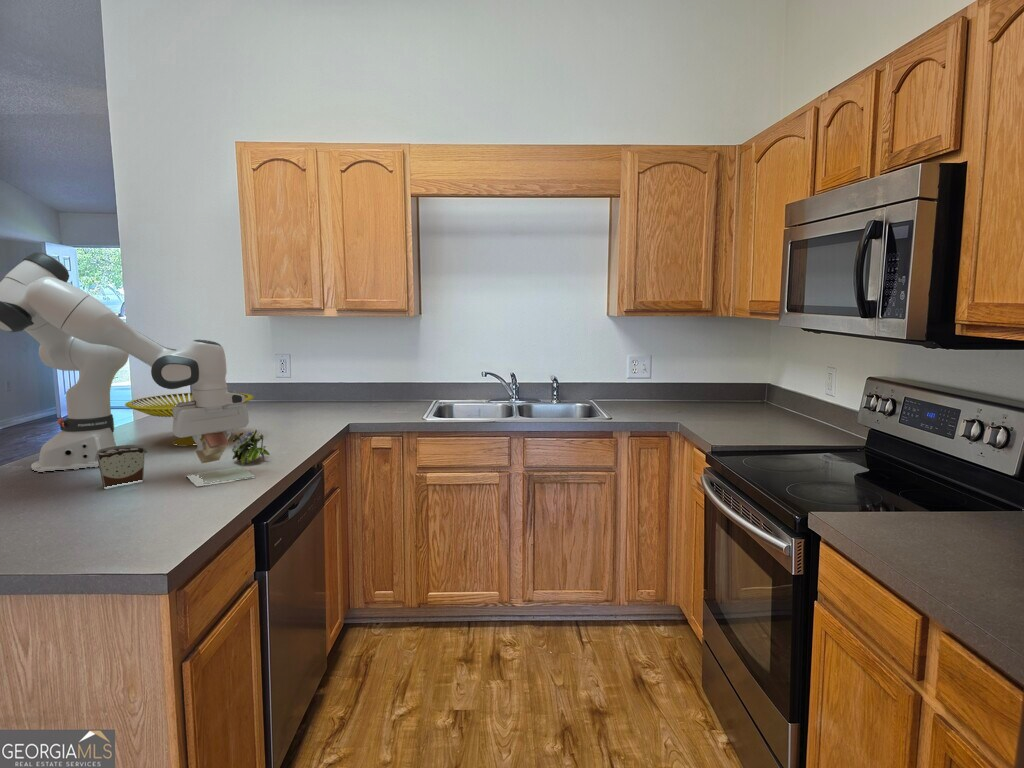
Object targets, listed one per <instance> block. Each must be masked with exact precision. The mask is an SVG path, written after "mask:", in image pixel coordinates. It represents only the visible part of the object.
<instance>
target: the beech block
mask: <svg viewBox="0 0 1024 768" xmlns="http://www.w3.org/2000/svg"><path fill="white" fill-rule="evenodd" d="M224 434H225V433H223V431H219V432H213V433H207V434H205V436H204V438H203V440H202V443H204V444H206V450H202V451H199V450H198V448H196V451H195V454H196V455H197V458H198V459H199V461H200V463H201V464H206V463H210V462H216V461H220V459H221V457H222V455H223V454H224V452H225V450H226V449H227V447H228V446H229V440H228V441H227V439H226V437H225V435H224ZM227 445H228V446H227Z"/></svg>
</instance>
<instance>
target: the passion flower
mask: <svg viewBox="0 0 1024 768" xmlns="http://www.w3.org/2000/svg"><path fill="white" fill-rule="evenodd" d="M257 432H258V430H257V429H255V430H254V431H252V432H251V431H250V432H248V434H246V435H245V436H243V435H244V432H239V433H238V434H235V436H234V438H233V439H232V443H235V442H236V441H237V440H239V441H237V443H236V444H235V445H234V446H232V450H231V452H232V453H233V455H232V458H231V459H232V460H235V459H237V460H239V461H240V465H242V464H243V466H245V463H247V464H250V463H251V462H252V461H256V460H257V459H259V457H260V456H262V459H263V460H265V456H266V455H267V456H270V452H268V450H266V449H265V448H267V446H266V445H264V444H263V443H264V435H263V434H262V432H261V433H259V434H258V435H257V436H258V437H256V434H257ZM242 436H243V438H241V437H242ZM260 440H261V446H260V447H258V443H259V442H260ZM240 459H241V460H240ZM237 460H236V461H237Z"/></svg>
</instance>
